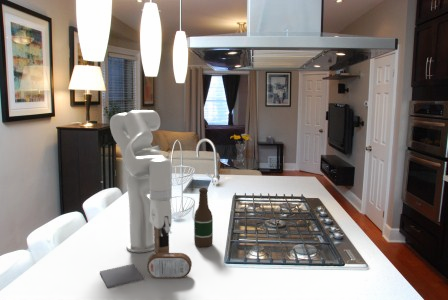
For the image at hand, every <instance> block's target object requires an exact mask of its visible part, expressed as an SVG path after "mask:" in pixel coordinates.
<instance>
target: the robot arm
mask: <svg viewBox="0 0 448 300" xmlns="http://www.w3.org/2000/svg"><path fill="white" fill-rule="evenodd" d="M160 126H161V117H160V115H159V114H158V112H157V111H156V110H151V109H150V110H148V109H141V110H139V109H138V110H137V109H136V110H135V109H134V110H130V111H128V112H121V113H115V114H114V115H112V116H111V117H110V120H109V128H110V132H111V136H112V137H113V140H114V141H115V143H116V144H117V146H118V148H119V151H120V154H121V158H122V161H123V165H124V167H125V170H126V171H127V172H128V173H129V174H128V175H127V176H126V179H125V182H126V183H125V184H126V189H127V193H128V195H127V197H128V203H129V205H128V207H129V210H128V211H129V236H130V237H129V238H130V241H129V242H128V243H127V244H126V250H127V251H129V252H132V253H136V254H138V253H139V254H141V253H142V254H143V253H148V252H151V251H154V226H155V227H156V228H157V229H160V236H159V247H160V248H161V247H166V246H168V245H169V246H170V238H169V239H168V236H169V237H170V232H171V227H172V222H173V221H172V208H171V207H172V205H171V199H172V162H171V160H170V159H168V158H167V157H166V156H164V155H163V154H162V153H161V152H160V151H159V150H158V149H145V148H147V147H148V146H150V145H151V144H152V142H153V140H154V136H153V132H155V131H157V130H159V128H160ZM147 195H149V196H147ZM164 225H165V227H163V226H164ZM162 229H165V230H163V232H162Z"/></svg>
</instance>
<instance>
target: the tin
mask: <svg viewBox="0 0 448 300" xmlns="http://www.w3.org/2000/svg"><path fill="white" fill-rule="evenodd" d="M192 264H193V262H192V260H191V258H190V256H188V255H187V254H186V253H183V252H169V253H155V252H154V254H152V255H151V256H150V257H149V258H148V260H147V264H146V269H147V272H148V274H149V275H150V276H151V277H153V278H154V279H155V278H156V279H182V278H186V277H187V276H189V274H190V272H191V270H192V267H193V266H192Z"/></svg>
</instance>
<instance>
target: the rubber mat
mask: <svg viewBox="0 0 448 300" xmlns="http://www.w3.org/2000/svg"><path fill="white" fill-rule="evenodd" d="M99 275H100V276H101V278H102V280H103V282H104V283H105V285H106V288H107V289H110V288H114V287H118V286H122V285H126V284H127V285H128V284H130V283H134V282H140V281H143V280H145V276H144V275H143V274H142V273H141V271H140V270H139V268H137V266H136V265H135V264H134V263H132V264H126V265H123V266H118V267H114V268H108V269H105V270H104V269H103V270H100V271H99Z"/></svg>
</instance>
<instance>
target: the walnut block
mask: <svg viewBox="0 0 448 300" xmlns="http://www.w3.org/2000/svg"><path fill="white" fill-rule="evenodd" d="M163 227H165V225H164V226H163ZM163 230H165V229H162V232H163ZM159 236H160V229H157V228H156V227H155V226H154V250H153V251H154V254H155V253H170V244H169V245H168V246H166V247H161V248H160V247H159ZM168 239H169V240H170V235H169V236H168Z"/></svg>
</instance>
